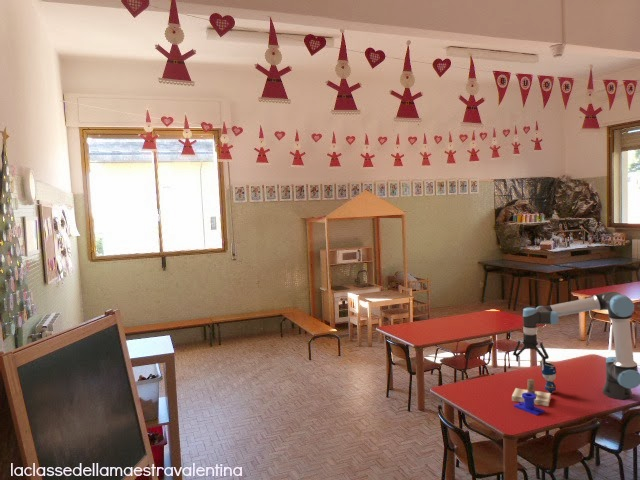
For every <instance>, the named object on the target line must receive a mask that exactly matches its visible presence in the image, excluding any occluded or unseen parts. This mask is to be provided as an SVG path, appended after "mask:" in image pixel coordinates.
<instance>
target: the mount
mask: <svg viewBox="0 0 640 480" xmlns="http://www.w3.org/2000/svg"><path fill="white" fill-rule="evenodd" d="M522 397H523V398H524V403H523V402H518V403H515V404H513V407H514V408H517V409H518V410H522V411H523V412H526V413H529V414H531V415H534V416H539V414H540V415H541V414H544V413H546V410H545V409H542V408H539V407H537V406H535V404H534V399H536V395H535V394H533V393H523V394H522Z"/></svg>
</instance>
